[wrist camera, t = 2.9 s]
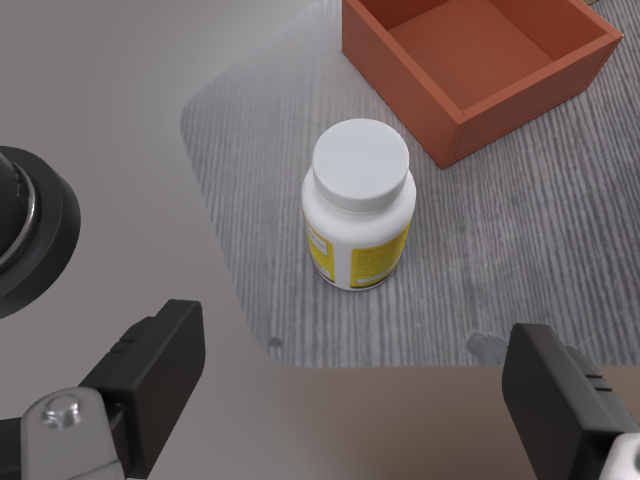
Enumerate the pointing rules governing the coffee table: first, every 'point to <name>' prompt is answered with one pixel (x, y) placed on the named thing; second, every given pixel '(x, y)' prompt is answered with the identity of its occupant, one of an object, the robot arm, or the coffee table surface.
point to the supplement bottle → (358, 203)
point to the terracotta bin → (474, 63)
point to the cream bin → (589, 1)
